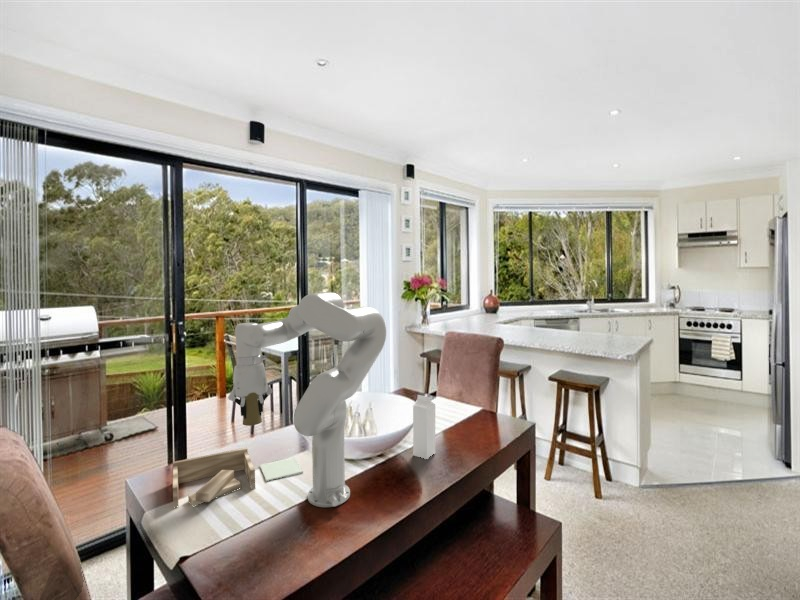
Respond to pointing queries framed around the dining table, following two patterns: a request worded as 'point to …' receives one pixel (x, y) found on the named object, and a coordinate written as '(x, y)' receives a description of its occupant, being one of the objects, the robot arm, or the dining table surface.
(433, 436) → the milk
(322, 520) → the dining table surface
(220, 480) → the offcut top
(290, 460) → the tile
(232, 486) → the offcut low
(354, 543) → the dining table surface
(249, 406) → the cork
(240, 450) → the rack
